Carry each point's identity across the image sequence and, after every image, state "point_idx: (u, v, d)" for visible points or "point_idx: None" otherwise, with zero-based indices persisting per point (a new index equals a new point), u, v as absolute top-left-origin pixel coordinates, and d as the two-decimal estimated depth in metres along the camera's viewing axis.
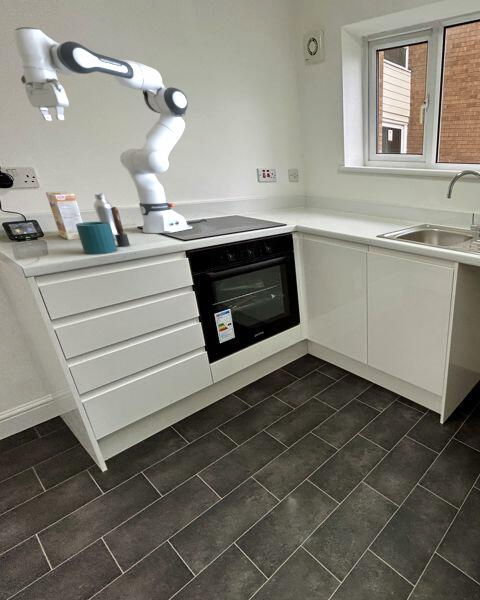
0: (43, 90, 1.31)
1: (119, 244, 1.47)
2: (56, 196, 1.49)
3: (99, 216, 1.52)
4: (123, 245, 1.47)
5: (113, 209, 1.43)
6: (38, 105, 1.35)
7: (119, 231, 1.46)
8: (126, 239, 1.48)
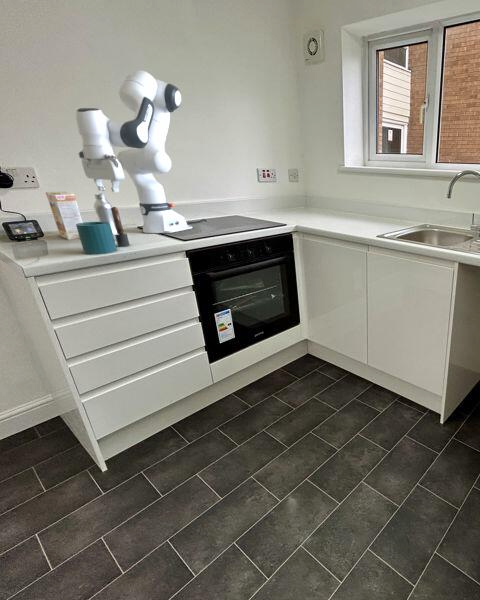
0: (100, 165, 1.35)
1: (119, 244, 1.47)
2: (56, 196, 1.49)
3: (99, 216, 1.52)
4: (123, 245, 1.47)
5: (113, 209, 1.43)
6: (94, 177, 1.39)
7: (119, 231, 1.46)
8: (126, 239, 1.48)
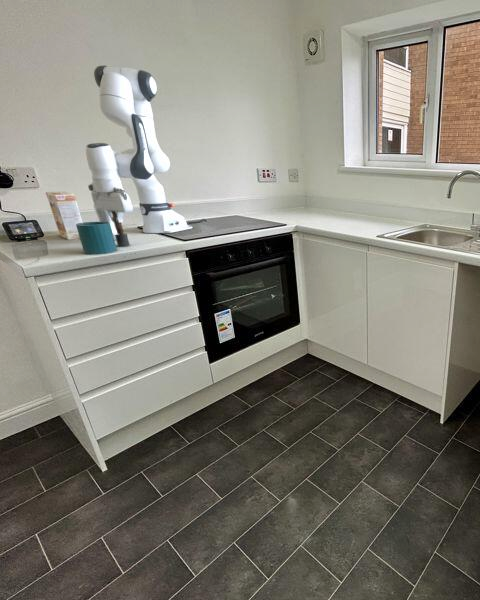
0: (110, 198, 1.40)
1: (119, 244, 1.47)
2: (56, 196, 1.49)
3: (99, 216, 1.52)
4: (123, 245, 1.47)
5: None
6: (103, 209, 1.44)
7: (119, 231, 1.46)
8: (126, 239, 1.48)
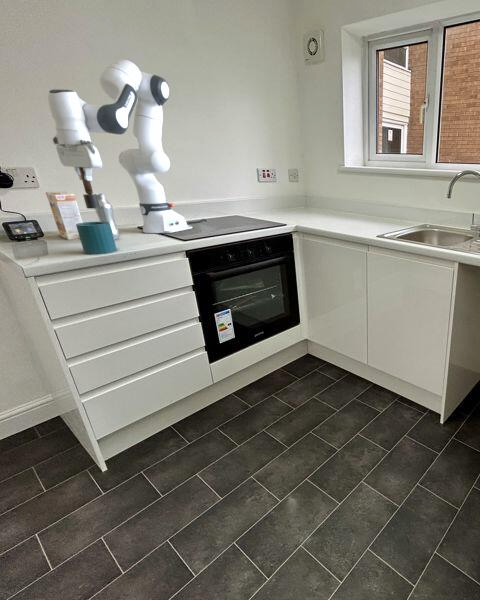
0: (76, 152, 1.26)
1: (88, 205, 1.33)
2: (56, 196, 1.49)
3: (99, 216, 1.52)
4: (92, 207, 1.33)
5: None
6: (70, 165, 1.30)
7: (88, 191, 1.32)
8: (96, 200, 1.34)
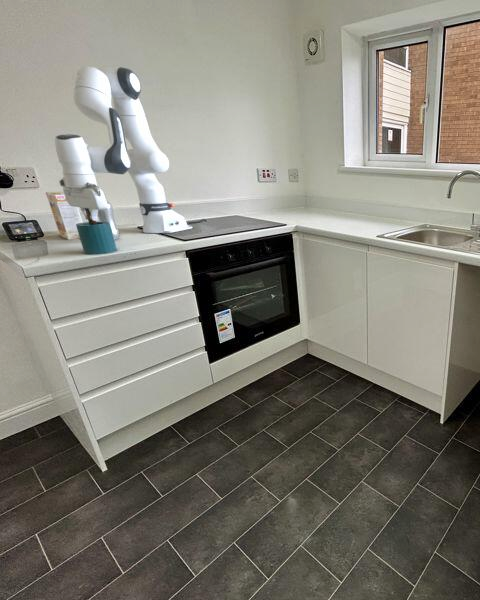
0: (82, 194, 1.29)
1: None
2: (56, 196, 1.49)
3: (99, 216, 1.52)
4: None
5: None
6: (76, 206, 1.33)
7: None
8: None
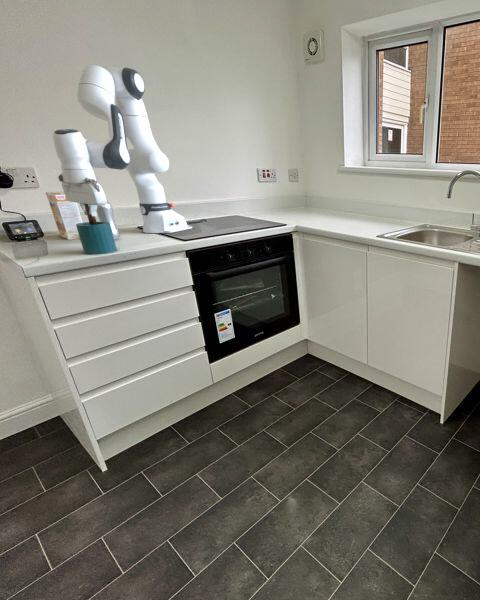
0: (81, 189, 1.29)
1: None
2: (56, 196, 1.49)
3: (99, 216, 1.52)
4: None
5: None
6: (75, 201, 1.33)
7: None
8: None
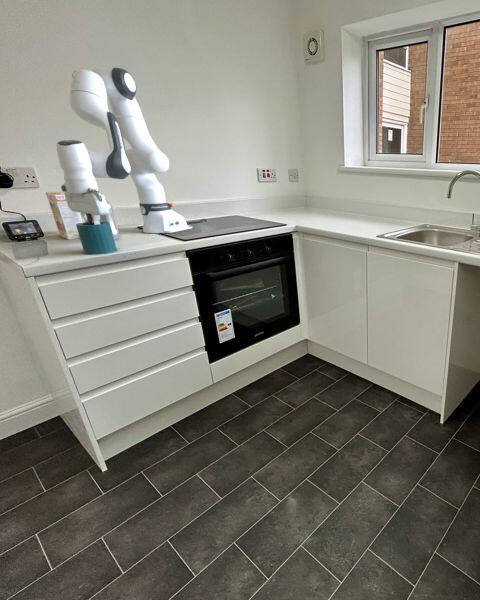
0: (84, 199, 1.30)
1: None
2: (56, 196, 1.49)
3: None
4: None
5: None
6: (77, 211, 1.34)
7: None
8: None
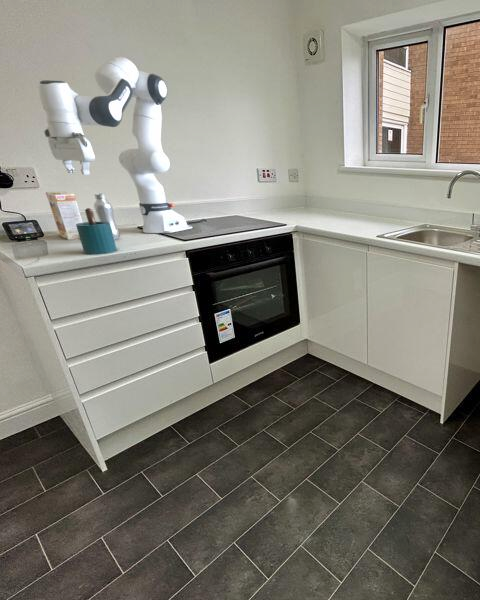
0: (68, 144, 1.23)
1: None
2: (56, 196, 1.49)
3: (99, 216, 1.52)
4: None
5: (87, 211, 1.32)
6: (62, 158, 1.27)
7: None
8: None
